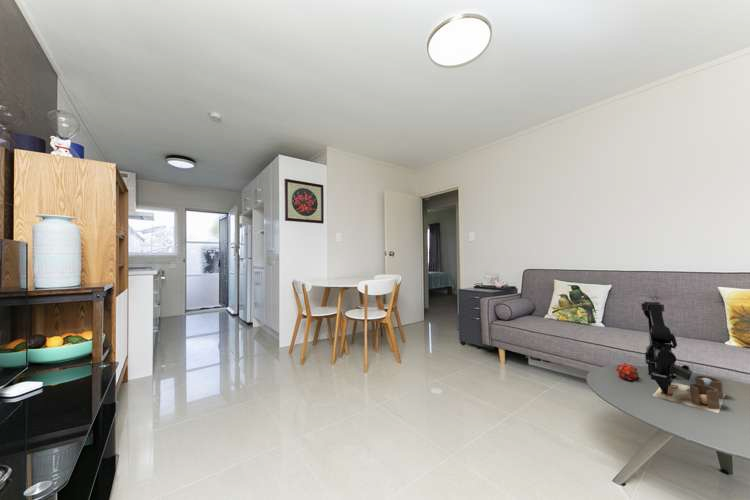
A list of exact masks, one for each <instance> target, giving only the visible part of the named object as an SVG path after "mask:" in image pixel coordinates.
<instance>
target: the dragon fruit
mask: <svg viewBox="0 0 750 500" xmlns="http://www.w3.org/2000/svg"><path fill="white" fill-rule="evenodd" d="M616 367H617V368H616V370H615V371H616V373H617V374H618V376H619V377H620V378H621V379H624V380H627V381H636V380H638V379H640V374H639V372H638V371H637V370H638V368H637V367H635V366H633V365H632V364H630V363H626V362H623V363H622V364H618V365H617V366H616Z"/></svg>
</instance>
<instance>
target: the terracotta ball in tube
mask: <svg viewBox="0 0 750 500" xmlns="http://www.w3.org/2000/svg"><path fill="white" fill-rule="evenodd" d="M699 397H700V402H701V403H702V404H705V405H708V403H707V395H705V394H700V395H699Z"/></svg>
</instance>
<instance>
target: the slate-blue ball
mask: <svg viewBox="0 0 750 500" xmlns="http://www.w3.org/2000/svg"><path fill="white" fill-rule="evenodd" d="M701 379H702V380H704V385H707V386H711V380H710V379H708V378H701Z"/></svg>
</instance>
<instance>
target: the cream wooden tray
mask: <svg viewBox="0 0 750 500" xmlns="http://www.w3.org/2000/svg"><path fill="white" fill-rule="evenodd" d="M701 378H708V379H710V380H711V386H707V385H704V380H702V379H701ZM694 380H695V383H690V384H689V385H687V384H682V383H677V382H674V381H673V382H672V383H671V388H672V390H673V392H672V394H664V393H663V392H662V391H661V390H660V387H659V386H658V388H657V390H656V391H655V392H654V393H653V394H652V397H656V398H659V399H663V400H667V401H671V402H675V403H679V404H682V405H687V406H689V407H690V406H691V407H695V408H698V409H701V410H705V411H710V412H712V413H716V414H717V413H718V414H719V413H720V410H721V407H722V404H723V402H724V399H725V396H726V394H725V393H724V392H723V383H722V382H723V381H722V380H721V379H719V378H716V377H712V376H708V375H695V377H694ZM700 394H705V395H707V403H708V405H705V404H702V403H701V402H700V397H699V395H700Z"/></svg>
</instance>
